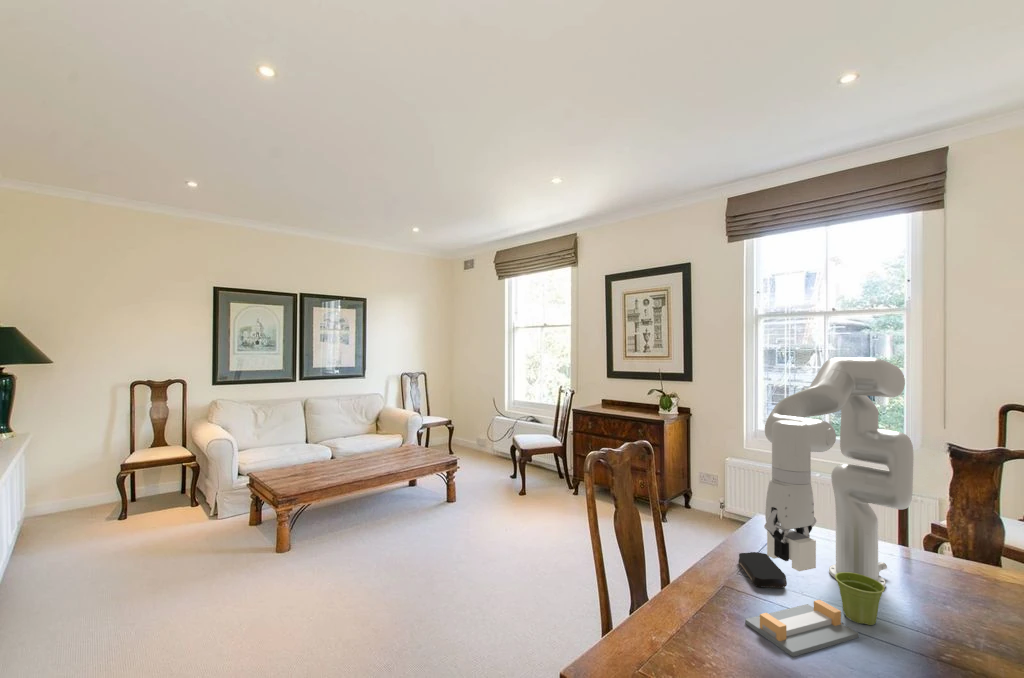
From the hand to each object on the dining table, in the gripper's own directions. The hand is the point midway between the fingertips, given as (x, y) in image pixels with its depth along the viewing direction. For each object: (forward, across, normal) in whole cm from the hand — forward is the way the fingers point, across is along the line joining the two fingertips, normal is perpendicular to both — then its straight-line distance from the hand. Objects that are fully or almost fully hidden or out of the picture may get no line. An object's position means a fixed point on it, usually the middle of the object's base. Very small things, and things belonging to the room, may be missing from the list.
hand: (790, 555), depth 102 cm
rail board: (+17, -3, 0) cm, 17 cm away
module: (+1, 0, 0) cm, 1 cm away
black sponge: (+18, -16, -22) cm, 32 cm away
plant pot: (+17, -21, +1) cm, 27 cm away
